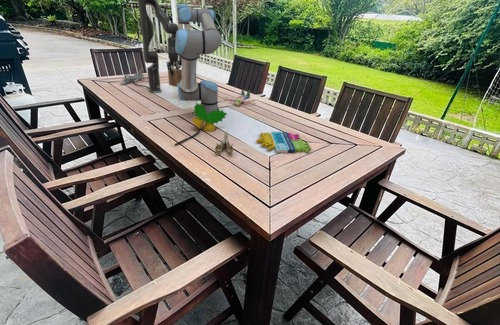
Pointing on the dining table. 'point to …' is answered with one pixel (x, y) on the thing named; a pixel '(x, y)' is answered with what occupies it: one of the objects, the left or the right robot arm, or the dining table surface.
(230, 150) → the jawbone
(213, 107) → the right robot arm
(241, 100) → the toy
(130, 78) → the airplane
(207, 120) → the ornament
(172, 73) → the left robot arm
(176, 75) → the box
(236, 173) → the dining table surface
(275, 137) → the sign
